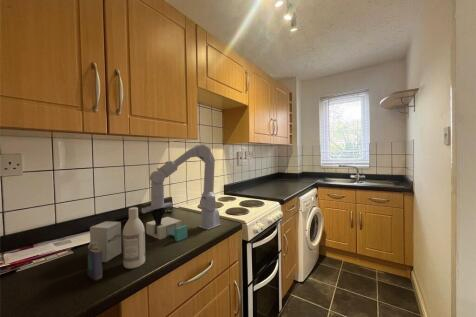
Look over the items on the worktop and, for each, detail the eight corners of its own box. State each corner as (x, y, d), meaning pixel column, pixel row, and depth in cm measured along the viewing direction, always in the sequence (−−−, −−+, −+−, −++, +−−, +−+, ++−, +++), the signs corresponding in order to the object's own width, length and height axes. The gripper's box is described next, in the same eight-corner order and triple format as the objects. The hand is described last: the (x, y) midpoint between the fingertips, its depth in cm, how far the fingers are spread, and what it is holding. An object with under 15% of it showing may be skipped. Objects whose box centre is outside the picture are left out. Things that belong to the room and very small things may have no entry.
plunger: (159, 231, 99) (159, 223, 99) (162, 232, 97) (162, 224, 97) (154, 232, 97) (153, 224, 97) (157, 234, 95) (157, 225, 95)
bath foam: (135, 257, 77) (134, 205, 77) (149, 260, 74) (148, 206, 74) (118, 267, 70) (117, 209, 70) (133, 271, 68) (132, 211, 68)
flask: (104, 278, 64) (103, 244, 64) (93, 282, 62) (91, 247, 62) (95, 267, 70) (94, 237, 70) (85, 271, 68) (84, 240, 68)
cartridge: (164, 228, 107) (163, 218, 107) (187, 237, 95) (187, 225, 95) (153, 231, 102) (153, 220, 102) (177, 241, 90) (177, 229, 90)
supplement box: (106, 262, 73) (105, 228, 73) (89, 260, 75) (88, 227, 75) (122, 253, 81) (121, 221, 80) (106, 251, 82) (105, 220, 82)
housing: (167, 226, 110) (167, 216, 110) (181, 231, 103) (181, 220, 103) (146, 233, 101) (146, 222, 100) (159, 239, 93) (159, 227, 93)
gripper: (166, 192, 105) (166, 219, 105) (138, 197, 93) (138, 227, 94) (174, 194, 100) (174, 221, 101) (146, 199, 89) (146, 230, 89)
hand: (158, 224), depth 97 cm, fingers closed, pressing on plunger
